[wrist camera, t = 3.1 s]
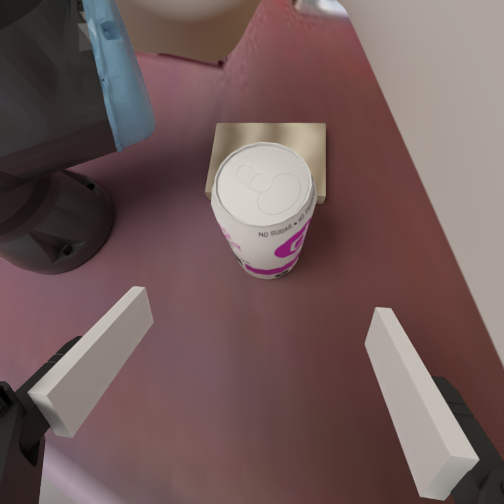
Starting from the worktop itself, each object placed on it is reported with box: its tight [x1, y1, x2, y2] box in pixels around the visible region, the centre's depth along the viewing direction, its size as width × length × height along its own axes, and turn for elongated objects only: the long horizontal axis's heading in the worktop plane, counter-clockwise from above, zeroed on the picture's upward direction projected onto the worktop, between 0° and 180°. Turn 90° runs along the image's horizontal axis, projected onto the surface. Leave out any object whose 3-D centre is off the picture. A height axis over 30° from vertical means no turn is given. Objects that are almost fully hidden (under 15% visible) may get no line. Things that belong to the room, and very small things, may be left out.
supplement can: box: [211, 142, 317, 280], centre depth 24 cm, size 8×8×15 cm
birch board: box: [205, 123, 326, 204], centre depth 34 cm, size 16×12×2 cm
